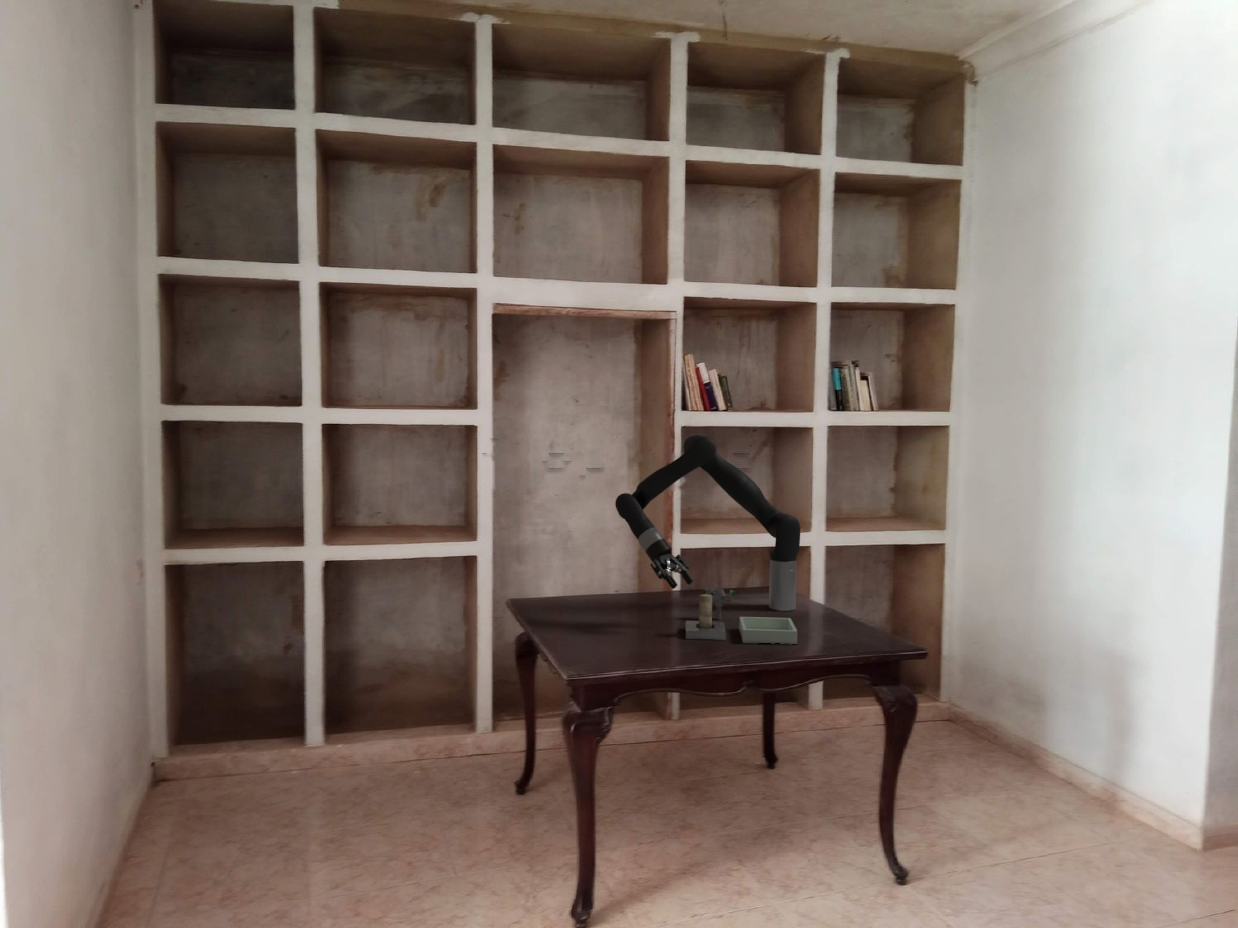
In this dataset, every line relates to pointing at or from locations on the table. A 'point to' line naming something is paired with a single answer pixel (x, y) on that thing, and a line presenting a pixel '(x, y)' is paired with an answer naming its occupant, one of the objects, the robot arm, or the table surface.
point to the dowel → (705, 611)
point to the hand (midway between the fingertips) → (683, 584)
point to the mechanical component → (719, 598)
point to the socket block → (705, 631)
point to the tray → (767, 630)
